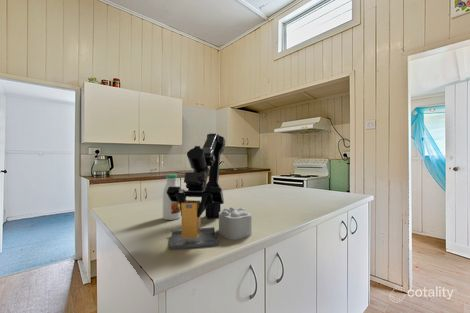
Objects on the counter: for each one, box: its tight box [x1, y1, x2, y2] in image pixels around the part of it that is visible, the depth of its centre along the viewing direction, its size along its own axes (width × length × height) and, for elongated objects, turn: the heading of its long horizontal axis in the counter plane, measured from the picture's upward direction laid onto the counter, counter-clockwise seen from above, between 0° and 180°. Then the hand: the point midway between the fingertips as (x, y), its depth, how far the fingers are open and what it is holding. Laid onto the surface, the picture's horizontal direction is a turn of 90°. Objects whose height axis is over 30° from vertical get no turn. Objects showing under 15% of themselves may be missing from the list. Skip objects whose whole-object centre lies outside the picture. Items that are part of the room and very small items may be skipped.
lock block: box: [181, 199, 202, 238], centre depth 72 cm, size 4×5×11 cm
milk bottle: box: [162, 173, 181, 221], centre depth 102 cm, size 8×8×20 cm
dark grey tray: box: [169, 226, 220, 251], centre depth 74 cm, size 15×12×2 cm
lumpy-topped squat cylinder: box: [218, 206, 253, 240], centre depth 82 cm, size 10×13×9 cm
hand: (189, 216), depth 70 cm, fingers closed on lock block, 5 cm apart
